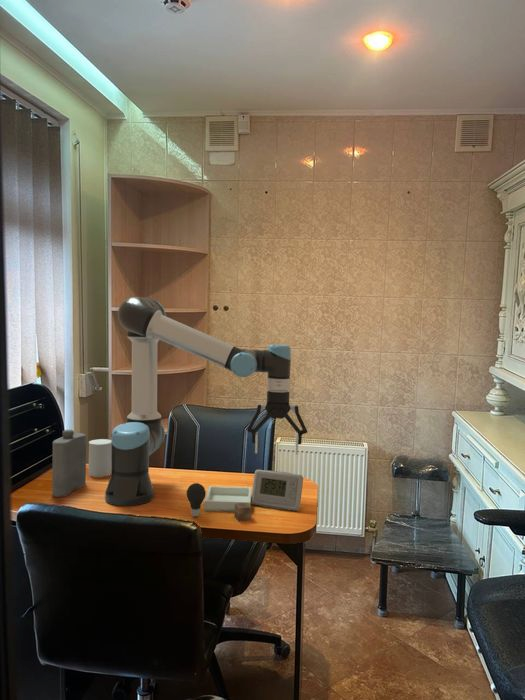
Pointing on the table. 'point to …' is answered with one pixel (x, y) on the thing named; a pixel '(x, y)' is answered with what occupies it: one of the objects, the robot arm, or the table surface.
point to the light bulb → (195, 497)
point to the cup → (100, 457)
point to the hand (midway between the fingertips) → (276, 453)
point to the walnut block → (243, 512)
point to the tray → (226, 498)
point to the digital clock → (277, 490)
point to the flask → (68, 463)
